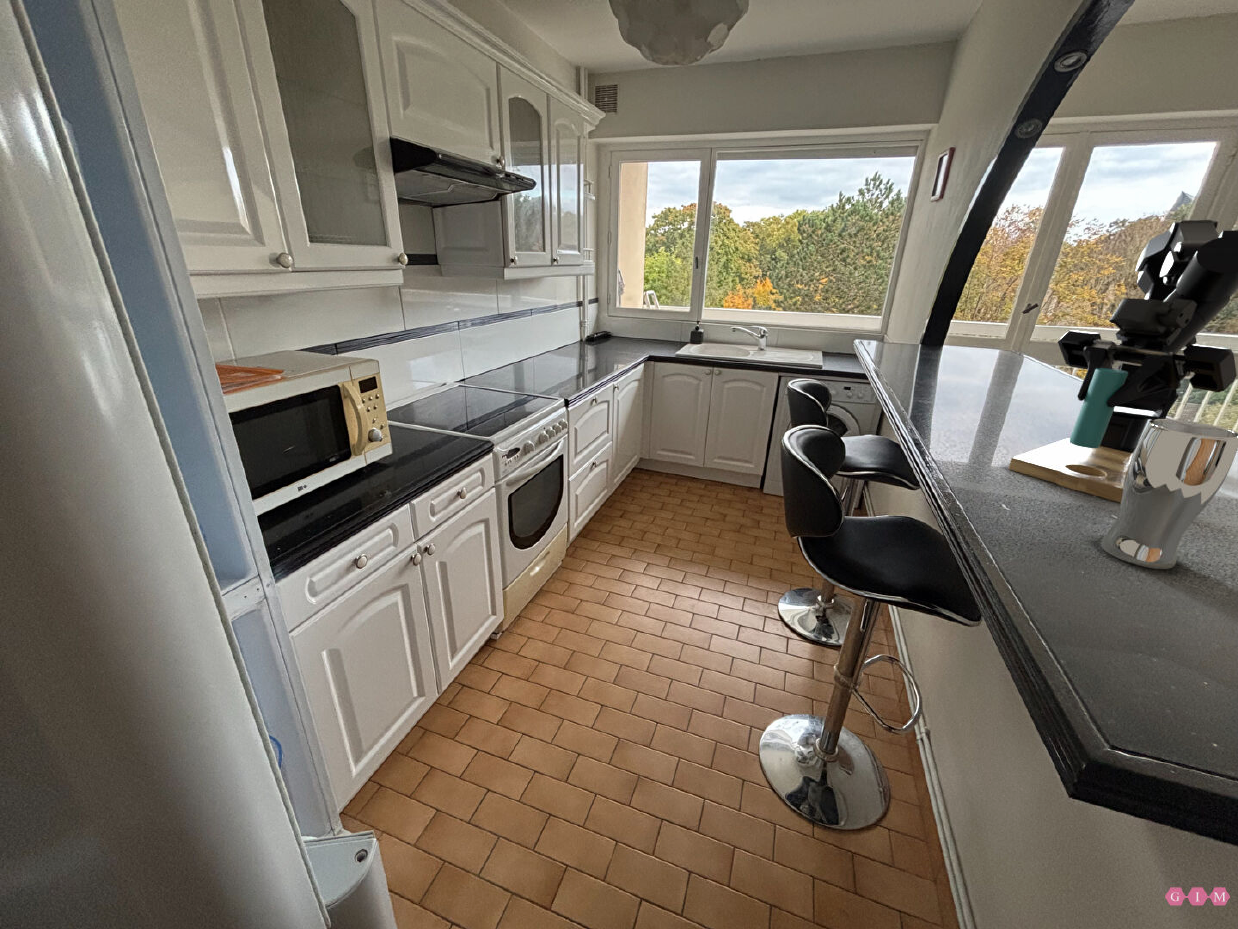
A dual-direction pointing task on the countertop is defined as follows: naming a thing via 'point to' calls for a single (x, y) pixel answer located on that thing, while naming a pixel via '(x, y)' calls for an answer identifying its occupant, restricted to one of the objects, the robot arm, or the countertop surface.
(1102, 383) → the peg
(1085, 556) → the countertop surface
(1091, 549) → the countertop surface
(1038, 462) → the board
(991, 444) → the countertop surface
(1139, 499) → the beer glass
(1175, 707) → the countertop surface
